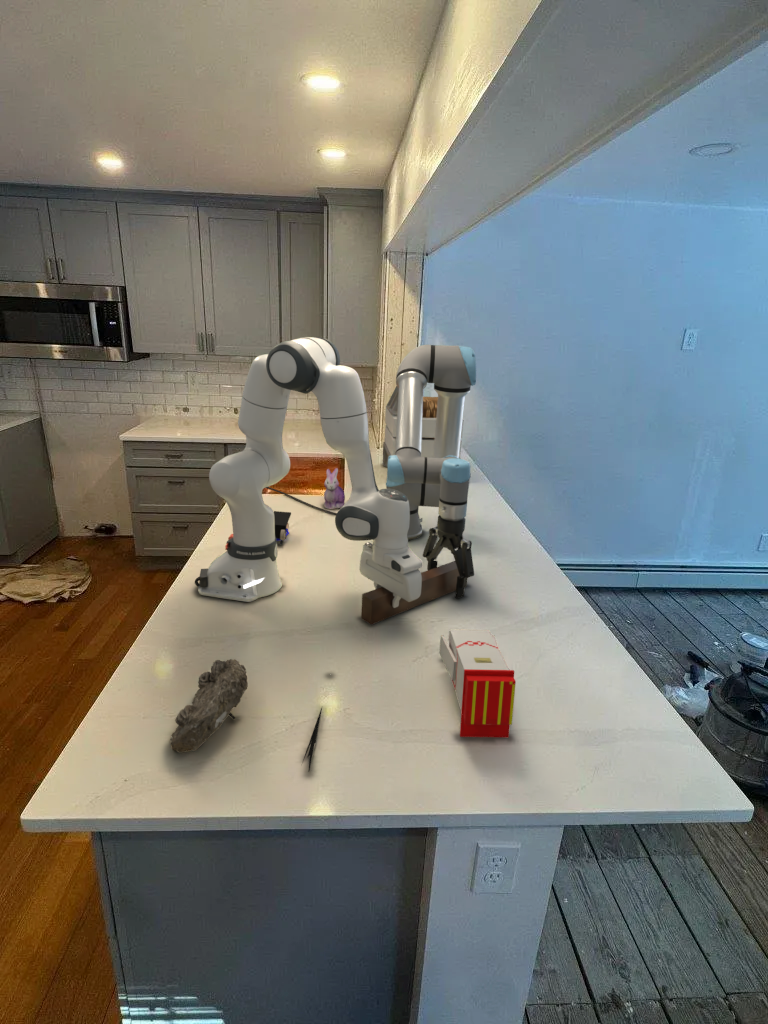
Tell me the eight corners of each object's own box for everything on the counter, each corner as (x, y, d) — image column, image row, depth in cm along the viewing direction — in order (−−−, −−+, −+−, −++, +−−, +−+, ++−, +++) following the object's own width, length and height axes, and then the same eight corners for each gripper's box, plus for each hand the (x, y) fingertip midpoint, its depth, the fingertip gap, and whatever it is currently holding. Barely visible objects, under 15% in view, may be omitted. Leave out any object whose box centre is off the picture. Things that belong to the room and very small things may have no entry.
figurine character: (286, 550, 185) (292, 529, 198) (285, 530, 182) (291, 509, 195) (265, 550, 185) (273, 528, 198) (264, 529, 181) (272, 509, 195)
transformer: (381, 463, 289) (385, 382, 275) (444, 464, 292) (450, 384, 279) (389, 482, 257) (393, 392, 243) (459, 483, 261) (467, 394, 247)
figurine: (327, 510, 218) (328, 473, 213) (318, 502, 227) (318, 466, 222) (350, 508, 223) (351, 471, 218) (339, 500, 231) (340, 464, 226)
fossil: (195, 660, 117) (247, 628, 112) (227, 691, 120) (279, 661, 115) (146, 746, 98) (206, 711, 93) (185, 779, 101) (245, 748, 96)
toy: (489, 613, 130) (525, 677, 101) (485, 667, 133) (518, 744, 104) (437, 612, 130) (457, 676, 101) (434, 666, 133) (453, 743, 103)
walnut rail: (371, 624, 142) (372, 600, 140) (361, 618, 145) (361, 593, 142) (467, 585, 164) (469, 564, 162) (456, 580, 167) (458, 559, 165)
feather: (331, 679, 122) (336, 673, 122) (307, 777, 96) (313, 769, 95) (324, 675, 122) (329, 669, 121) (298, 772, 95) (304, 764, 95)
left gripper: (354, 542, 147) (353, 590, 152) (408, 570, 133) (404, 622, 137) (373, 537, 151) (371, 583, 156) (427, 564, 137) (423, 614, 141)
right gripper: (413, 507, 159) (408, 578, 167) (474, 532, 143) (466, 609, 151) (431, 502, 164) (426, 571, 172) (493, 526, 148) (484, 601, 156)
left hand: (387, 602), depth 146 cm, fingers closed on walnut rail, 4 cm apart
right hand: (445, 589), depth 161 cm, fingers open, 10 cm apart
